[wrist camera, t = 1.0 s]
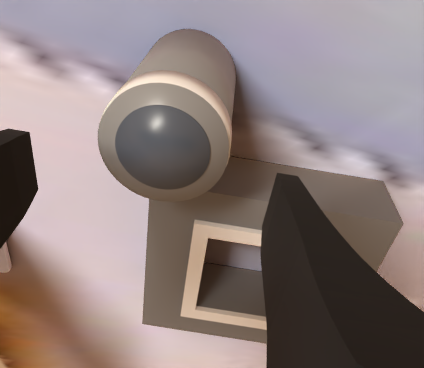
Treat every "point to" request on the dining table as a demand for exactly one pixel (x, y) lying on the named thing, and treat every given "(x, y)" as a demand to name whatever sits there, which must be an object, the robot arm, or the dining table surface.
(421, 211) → the dining table surface
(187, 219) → the grey frame block
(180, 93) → the lens
